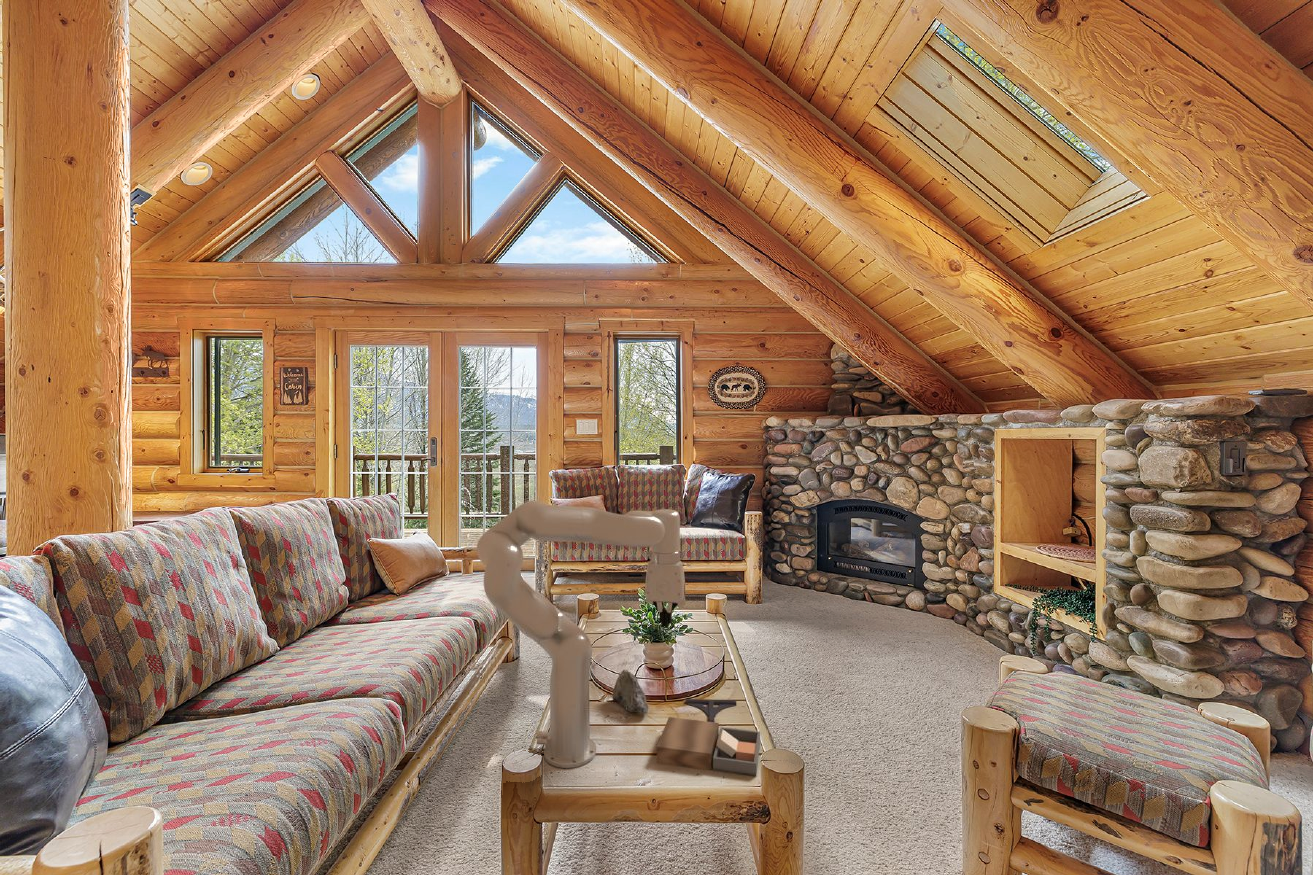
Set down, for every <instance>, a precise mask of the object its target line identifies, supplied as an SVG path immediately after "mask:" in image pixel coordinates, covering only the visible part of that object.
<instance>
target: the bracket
mask: <svg viewBox="0 0 1313 875" xmlns="http://www.w3.org/2000/svg"><path fill="white" fill-rule="evenodd" d="M685 705H687V706H691V707H693V708H697V709H699V710H701V711H702V712H703V713H705V715H706V716H707V717H708V720H709V721H708V722H715V717H717V715H718V713H720V712H721V711H723V710H725V709H727V708H728V709H729V708H733V707H736V706H737V699H736V700H735V699H733V700H732V699H703V698H701V699H699V698H698V699H697V698H685ZM714 706H715V707H714Z"/></svg>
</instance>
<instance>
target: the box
mask: <svg viewBox="0 0 1313 875" xmlns="http://www.w3.org/2000/svg"><path fill="white" fill-rule="evenodd" d="M719 727H720V729H719V734H720V733H721V731H722V730H724V731H726V732H727V733H729V734H730V735H731V736H733V737H734V738H735V739H737V740H738V741H739V742H747V743H755V744H756V750H755V758H754V762H750V761H743V760H736V752H735V754H734V755H733V756H732V757H731V756H730V755H728V754H727V753H726V752H724V751H723V750H722V749H720V748H719V747H718V746H716V748H715V752H714V756H713V764H712V772H713V771H714V772H720V773H721V772H722V773H727V774H728V773H729V774H735V775H744V776H750V777H757V772H758V766H759V757H760V756H759V755H760V748H761V746H760V745H761V731H759V730H750V729H740V728H732V727H724V726H719Z"/></svg>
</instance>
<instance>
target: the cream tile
mask: <svg viewBox="0 0 1313 875" xmlns="http://www.w3.org/2000/svg"><path fill="white" fill-rule="evenodd" d="M737 745H738V740H737V739H735V738H734V737H733V736H731V735H730V734H729V733H727V732H726V731H724V730H722V731H721V733H720V734H719V736H718V740H717V744H716V746H718V747H719V748H720V749H722V750H723V751H724V752H726V753H727V754H728V755H730V756H731V757H732V756H733V755H734V754H735V752H736V751H737Z"/></svg>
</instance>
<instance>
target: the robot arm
mask: <svg viewBox="0 0 1313 875" xmlns="http://www.w3.org/2000/svg"><path fill="white" fill-rule="evenodd" d="M680 522H681V516H680V513H679V512H678V511H677V510H674V509H671V508H670V509H666V508H664V509H663V508H661V509H655V510H652V511H651V510H650V511H649V510H630V511H627V512H626V513H624V514H621V513H620V514H619V513H614V512H610V511H606V510H604V509H600V508H597V507H589V506H575V505H574V506H573V505H571V506H570V505H558V504H546V503H543V502H541V501H539V500H528V501H525V502H523V503H522V504H520V505H519V506H517V507H516V508H515V509H513V510H512V511H510V512H509V513H508V514H507V515H505V516H504V517H503V518H502V519H501V520H499V521H498V522H497V523H495V524H494V525H492V526H491V527H490V528H489V529H488V530H485V532H484V533H483V534H482V535H481V536H480V537H479V539H478V541H477V543H476V554H477V557H478V559H479V560H480V562H481V563H482V564H483V565H484V566H485V569H484V573H483V574H484V575H483V589H484V593H485V595H486V597H487V599H488V600H489V602H490V603H491V604H492V605H493V606H494V607H495V608H496V609H497V610H498V611H500V613H501V614H502V615H503V616H504V617H505V618H507V619H508V620H509V621H510V622H511V623H513V624H514V626H516V628H517V629H518V630H519V631H520V633H522V634H523V635H524V636H526V637H527V638H529V639H531V640H533V641H534V642H535V643H536V644H537V645H539V646H540V647H541V648H542V649H543V650H544V651H545V653H546V654H547V655H548V656H549V658H551V664H552V665H551V666H552V667H551V672H550V676H549V677H550V678H549V706H550V707H549V709H550V711H549V712H550V714H549V716H550V718H549V720H550V722H549V724H550V725H549V726H550V730H549V731H544V730H537V731H536V732H535V739H536V744H537V745H541V746H542V745H544V746H545V748H544V755H543V756H544V759H545V761H546V762H547V763H548V764H550V765H551V766H553V767H557V768H562V769H573V768H578V767H580V766H584V765H586V764H588V763H589V762H590V761H592V760H593V759H594V758H595V757H596V753H597V745H596V743H595V741H594V740H593V739H591V737H590V735H591V733H590V732H591V731H590V728H591V727H590V726H591V725H590V724H591V723H590V722H591V721H590V720H591V719H590V714H591V713H590V672H591V670H590V669H591V662H592V658H593V657H592V655H593V647H592V646H593V645H592V643H591V639H590V638H589V636H588V635H587V633H586V632H585V631H584V630H583V629H582V628H580V627H579V626H578V625H577V624H575V623H574V622H573V621H572V620H571V619H570V618H569V617H568V616H566V615H565V614H564V613H563V612H562V611H561V610H559V608H557V607H556V606H555V605H554V604H553V603H552V602H551V601H550V600H549V599H548V598H546V596H545V595H543V594H542V593H541V592H539V591H537V590H535V589H534V588H533V587H532V586H531V585H529V583H528V582H527V581H525V580H524V579H523V577H522V565H523V562H524V561H523V560H524V553H523V549H522V546H523V545H524V544H525V543H527V542H528V541H529V540H530V539H533V540H535V541H541V542H563V543H565V542H567V543H568V542H570V543H591V544H595V545H608V546H609V545H610V546H618V547H630V548H633V547H634V548H651V549H650V551H646V552H645V556H646V557H647V558H649V559H650V561H648V562H647V565H646V566H647V567H646V574H645V584H644V586H645V588H644V598H645V599H644V600H645V603H647V604H650V605H653V606H654V607H655V608H656V609H657V611H658V612H659V617H658V618H659V624H661V628H665V629H666V628H668V627H669V626H670V624H672V621H673V619H672V618H673V615H672V614H673V610H674V609H676V608H677V607H682V606H685V605H686V603H687V601H686V597H685V596H686V580H685V579H686V578H685V571H684V564H683V562H682V561H681V556H680V555H681V553H680V552H681V547H680V546H681V544H680V543H681V529H680V528H681V523H680ZM665 603H667V607H666V606H665ZM536 734H537V736H536Z"/></svg>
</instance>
